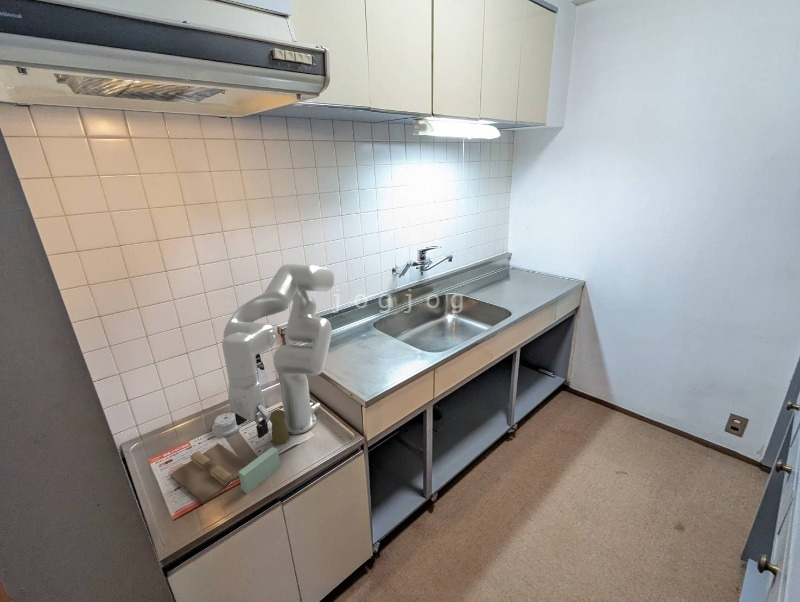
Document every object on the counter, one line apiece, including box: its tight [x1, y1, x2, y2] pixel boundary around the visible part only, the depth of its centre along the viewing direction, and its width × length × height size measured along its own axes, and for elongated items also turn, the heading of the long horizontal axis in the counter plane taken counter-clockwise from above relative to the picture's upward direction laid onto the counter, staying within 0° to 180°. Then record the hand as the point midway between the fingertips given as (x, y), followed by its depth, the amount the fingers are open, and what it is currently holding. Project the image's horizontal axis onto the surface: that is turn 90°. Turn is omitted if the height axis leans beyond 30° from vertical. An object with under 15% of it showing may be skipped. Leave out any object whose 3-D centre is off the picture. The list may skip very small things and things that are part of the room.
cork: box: [269, 409, 291, 446], centre depth 127 cm, size 6×6×11 cm
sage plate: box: [239, 446, 281, 494], centre depth 112 cm, size 12×2×7 cm, turn 147°
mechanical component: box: [211, 411, 243, 438], centre depth 134 cm, size 10×4×10 cm
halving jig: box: [169, 443, 250, 506], centre depth 115 cm, size 16×18×3 cm
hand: (252, 428), depth 106 cm, fingers open, 9 cm apart
